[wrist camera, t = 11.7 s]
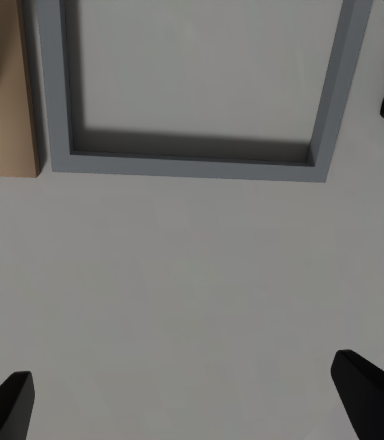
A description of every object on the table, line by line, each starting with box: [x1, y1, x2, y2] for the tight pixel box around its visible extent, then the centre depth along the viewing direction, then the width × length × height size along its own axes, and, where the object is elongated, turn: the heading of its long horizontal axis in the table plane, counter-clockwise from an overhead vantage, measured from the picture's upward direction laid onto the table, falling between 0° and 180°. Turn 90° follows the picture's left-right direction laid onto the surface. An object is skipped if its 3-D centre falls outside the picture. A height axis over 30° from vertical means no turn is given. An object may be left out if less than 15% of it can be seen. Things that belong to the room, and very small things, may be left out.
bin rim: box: [36, 0, 373, 183], centre depth 17 cm, size 17×13×1 cm
